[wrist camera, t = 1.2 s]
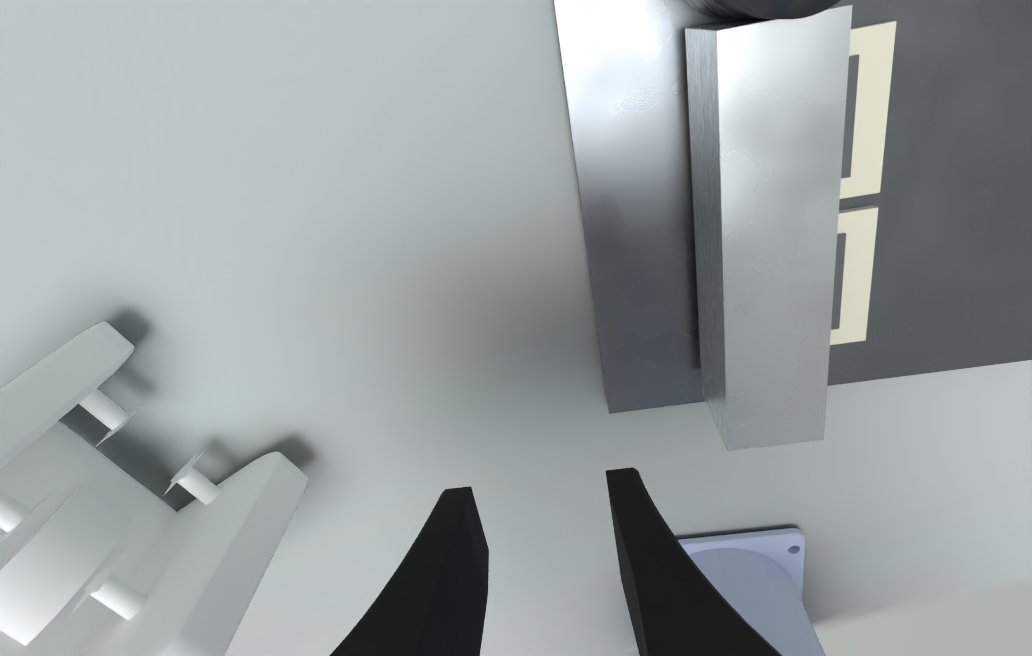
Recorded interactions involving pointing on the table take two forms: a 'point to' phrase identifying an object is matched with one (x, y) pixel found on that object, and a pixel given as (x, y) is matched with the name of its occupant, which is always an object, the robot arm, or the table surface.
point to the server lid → (901, 202)
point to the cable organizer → (121, 526)
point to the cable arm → (766, 209)
